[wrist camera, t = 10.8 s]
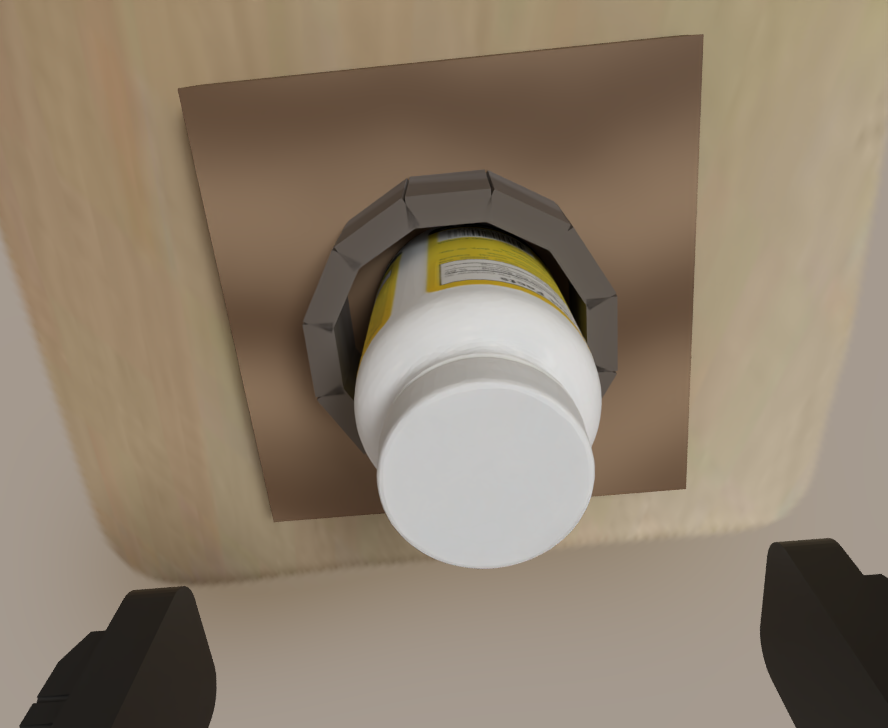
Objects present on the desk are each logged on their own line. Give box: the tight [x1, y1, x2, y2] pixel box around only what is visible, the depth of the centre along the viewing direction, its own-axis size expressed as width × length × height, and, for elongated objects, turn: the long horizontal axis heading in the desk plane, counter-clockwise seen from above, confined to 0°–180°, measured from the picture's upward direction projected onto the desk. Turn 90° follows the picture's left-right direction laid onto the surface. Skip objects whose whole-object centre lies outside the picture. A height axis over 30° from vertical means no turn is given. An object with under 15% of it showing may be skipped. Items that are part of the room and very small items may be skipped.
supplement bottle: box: [354, 222, 602, 569], centre depth 18 cm, size 5×5×10 cm
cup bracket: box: [178, 34, 703, 522], centre depth 22 cm, size 14×14×5 cm
